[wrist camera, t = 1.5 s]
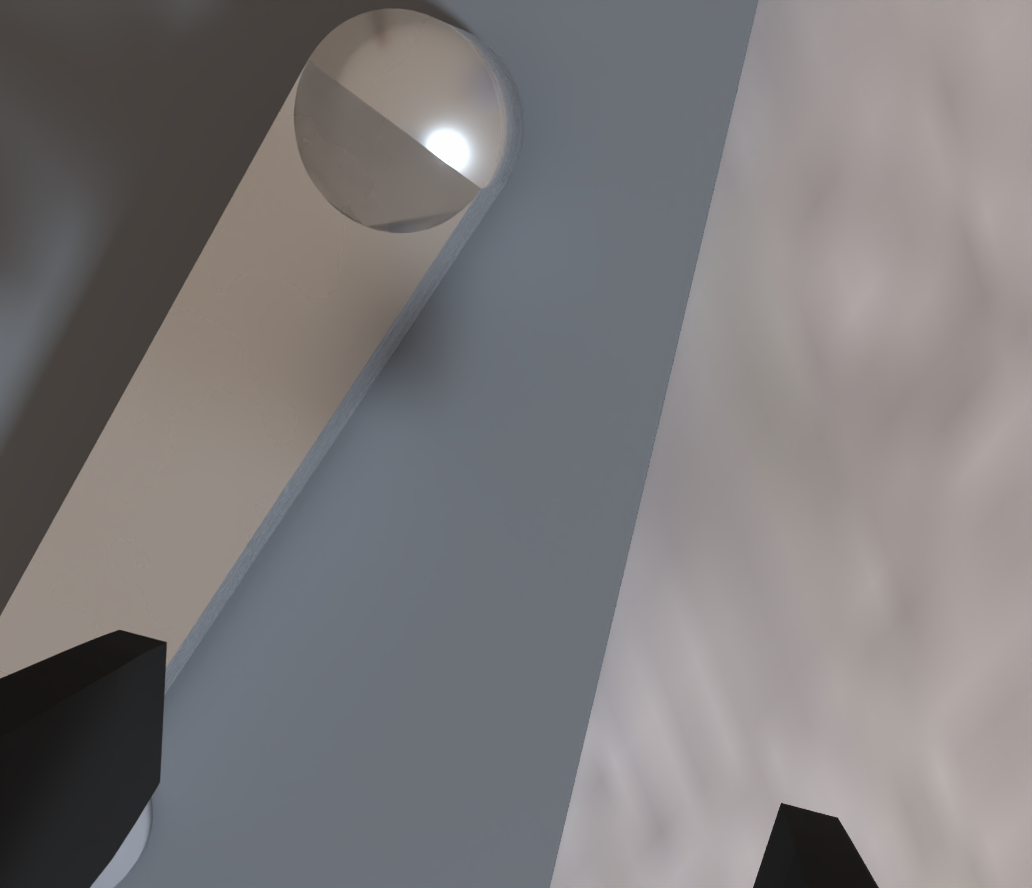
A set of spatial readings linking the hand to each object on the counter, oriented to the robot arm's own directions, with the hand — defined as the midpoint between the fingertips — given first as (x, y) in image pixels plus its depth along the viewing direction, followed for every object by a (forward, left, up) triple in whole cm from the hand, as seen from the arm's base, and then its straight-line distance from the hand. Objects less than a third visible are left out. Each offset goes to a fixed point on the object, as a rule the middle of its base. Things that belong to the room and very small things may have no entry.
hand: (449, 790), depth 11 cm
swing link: (-1, +7, -7) cm, 10 cm away
